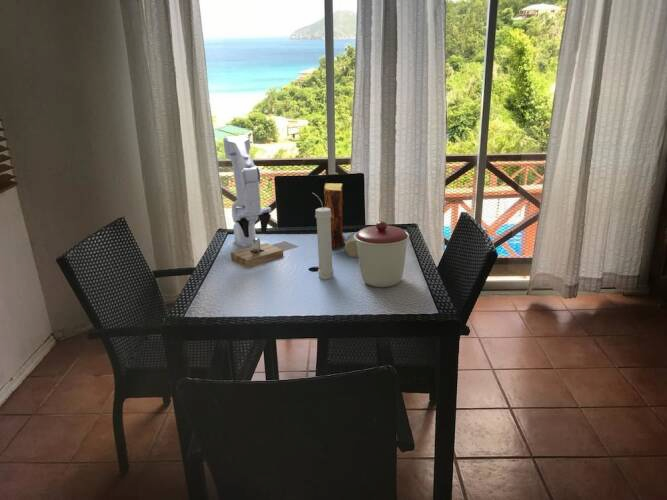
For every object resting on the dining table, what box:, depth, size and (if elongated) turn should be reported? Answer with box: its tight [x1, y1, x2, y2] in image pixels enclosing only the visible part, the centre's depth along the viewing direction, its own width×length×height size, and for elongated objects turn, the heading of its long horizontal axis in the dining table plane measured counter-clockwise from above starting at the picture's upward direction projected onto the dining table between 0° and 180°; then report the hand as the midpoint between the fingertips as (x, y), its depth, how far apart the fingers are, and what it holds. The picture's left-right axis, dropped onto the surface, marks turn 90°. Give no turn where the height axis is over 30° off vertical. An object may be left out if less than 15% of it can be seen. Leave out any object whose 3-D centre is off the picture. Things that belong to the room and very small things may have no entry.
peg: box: [251, 237, 261, 254], centre depth 212 cm, size 3×3×8 cm
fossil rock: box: [323, 182, 346, 250], centre depth 223 cm, size 24×8×24 cm, turn 176°
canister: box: [354, 220, 410, 288], centre depth 183 cm, size 18×18×21 cm
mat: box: [271, 240, 300, 252], centre depth 224 cm, size 10×10×1 cm
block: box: [230, 242, 284, 269], centre depth 212 cm, size 12×16×3 cm
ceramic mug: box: [344, 232, 359, 259], centre depth 211 cm, size 11×8×8 cm
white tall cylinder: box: [312, 192, 335, 280], centre depth 188 cm, size 6×6×30 cm
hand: (255, 234), depth 210 cm, fingers open, 7 cm apart
